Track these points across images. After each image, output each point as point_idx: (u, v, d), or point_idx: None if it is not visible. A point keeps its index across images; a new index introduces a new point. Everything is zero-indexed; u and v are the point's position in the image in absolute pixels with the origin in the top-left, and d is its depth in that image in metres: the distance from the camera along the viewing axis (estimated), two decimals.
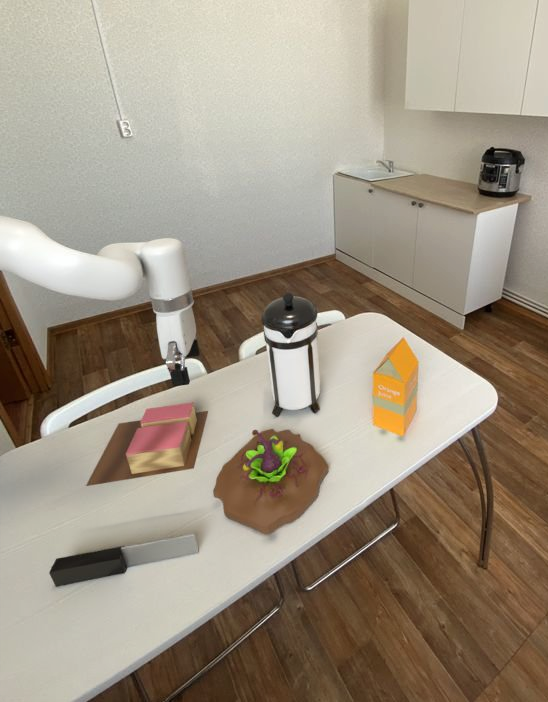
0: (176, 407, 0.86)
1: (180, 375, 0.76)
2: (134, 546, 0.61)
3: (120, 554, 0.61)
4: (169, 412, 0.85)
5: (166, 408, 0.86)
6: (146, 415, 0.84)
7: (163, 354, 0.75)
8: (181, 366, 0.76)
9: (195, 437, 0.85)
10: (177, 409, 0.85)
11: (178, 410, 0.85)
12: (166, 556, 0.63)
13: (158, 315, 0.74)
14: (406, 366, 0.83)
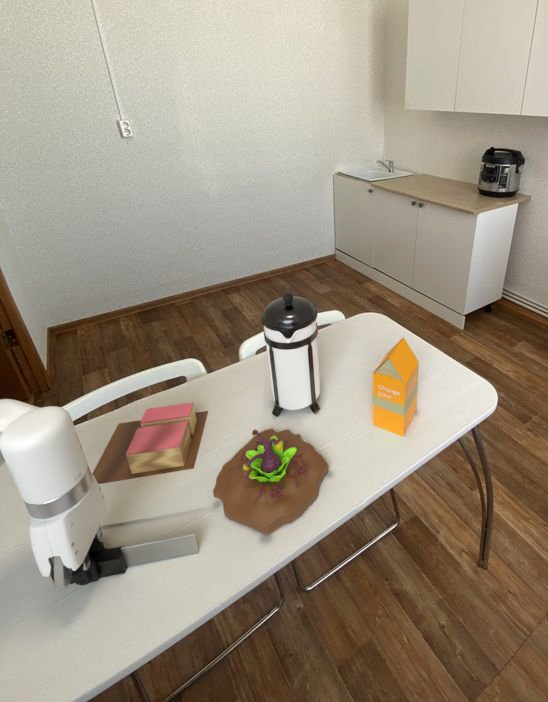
0: (176, 407, 0.86)
1: (84, 575, 0.58)
2: (134, 546, 0.61)
3: (120, 554, 0.61)
4: (169, 412, 0.85)
5: (166, 408, 0.86)
6: (146, 415, 0.84)
7: (42, 572, 0.53)
8: (84, 568, 0.57)
9: (195, 437, 0.85)
10: (177, 409, 0.85)
11: (178, 410, 0.85)
12: (166, 556, 0.63)
13: (32, 522, 0.52)
14: (406, 366, 0.83)
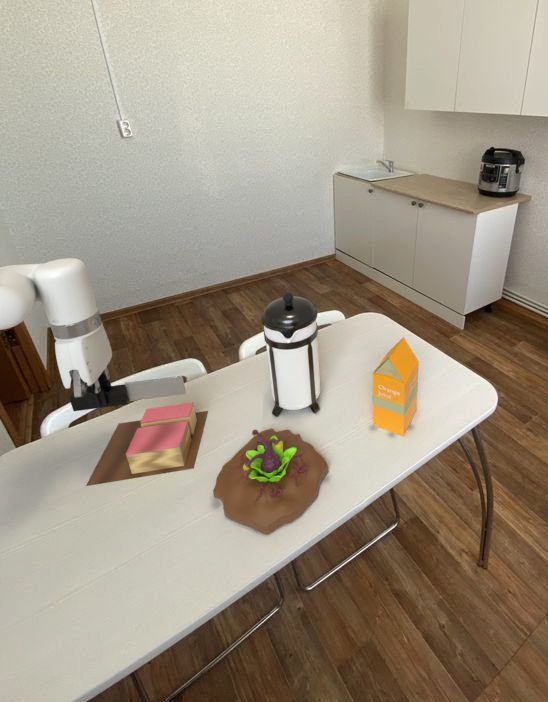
0: (176, 407, 0.86)
1: (95, 398, 0.75)
2: (135, 382, 0.78)
3: (124, 388, 0.77)
4: (169, 412, 0.85)
5: (166, 408, 0.86)
6: (146, 415, 0.84)
7: (65, 383, 0.70)
8: (95, 391, 0.74)
9: (195, 437, 0.85)
10: (177, 409, 0.85)
11: (178, 410, 0.85)
12: (160, 394, 0.79)
13: (57, 342, 0.68)
14: (406, 366, 0.83)
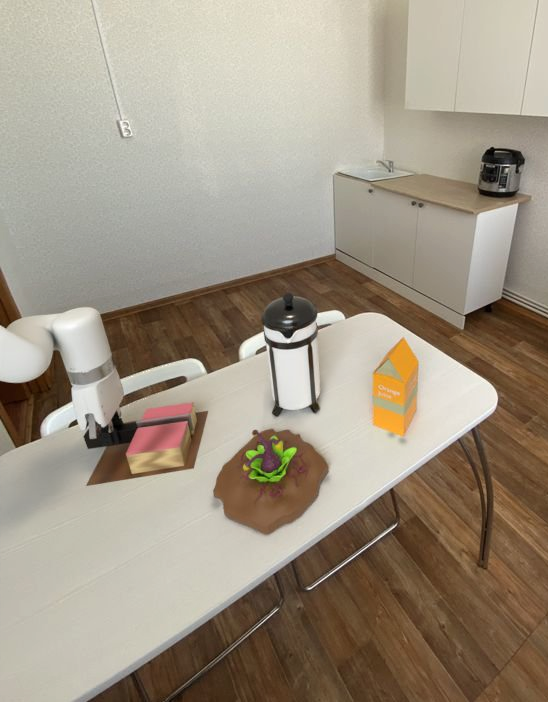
0: (176, 407, 0.86)
1: (109, 437, 0.78)
2: (146, 420, 0.81)
3: (135, 426, 0.81)
4: (169, 412, 0.85)
5: (166, 408, 0.86)
6: (146, 415, 0.84)
7: (80, 426, 0.73)
8: (109, 431, 0.78)
9: (195, 437, 0.85)
10: (177, 409, 0.85)
11: (178, 410, 0.85)
12: None
13: (73, 387, 0.72)
14: (406, 366, 0.83)
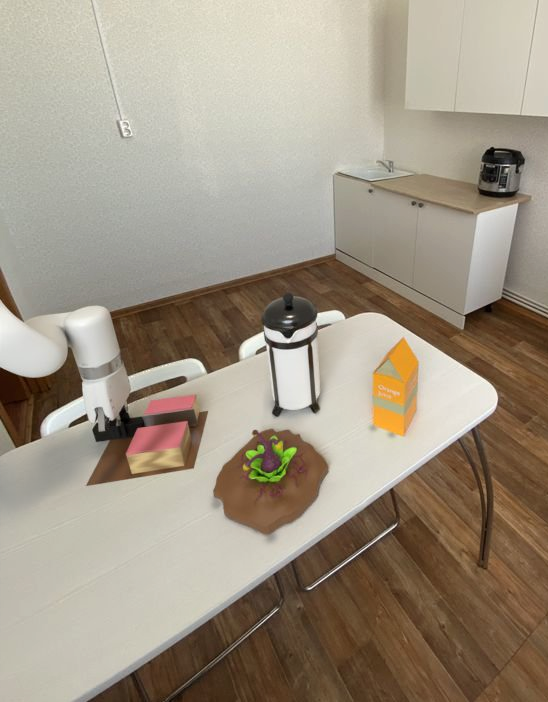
0: (180, 399, 0.89)
1: (116, 430, 0.82)
2: (151, 415, 0.85)
3: (141, 420, 0.85)
4: (173, 403, 0.87)
5: (170, 400, 0.88)
6: (150, 406, 0.86)
7: (90, 419, 0.77)
8: (117, 424, 0.81)
9: (195, 437, 0.85)
10: (180, 401, 0.88)
11: (181, 402, 0.88)
12: None
13: (84, 382, 0.76)
14: (406, 366, 0.83)
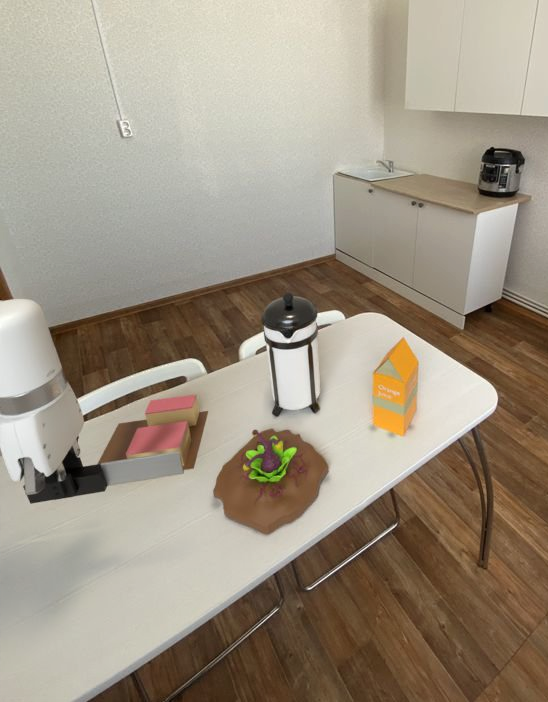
0: (180, 399, 0.89)
1: (59, 487, 0.54)
2: (115, 462, 0.57)
3: (100, 470, 0.57)
4: (173, 403, 0.87)
5: (170, 400, 0.88)
6: (150, 406, 0.86)
7: (12, 476, 0.49)
8: (58, 479, 0.54)
9: (195, 437, 0.85)
10: (180, 401, 0.88)
11: (181, 402, 0.88)
12: (149, 475, 0.59)
13: (0, 419, 0.48)
14: (406, 366, 0.83)
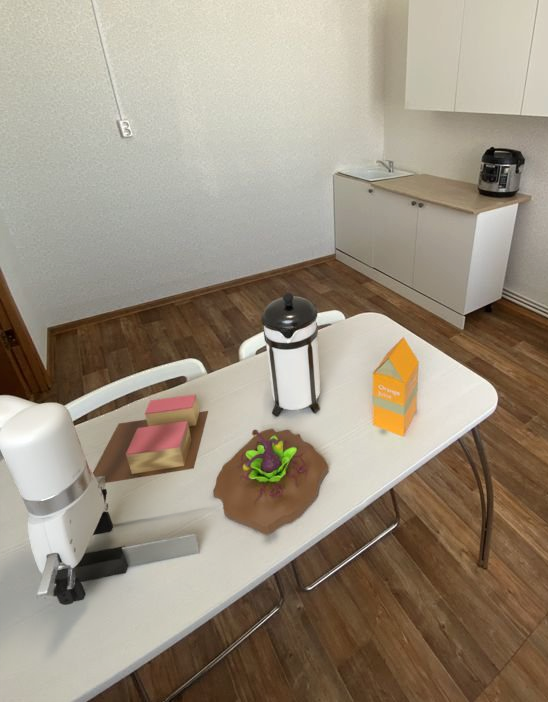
0: (180, 399, 0.89)
1: (68, 594, 0.54)
2: (135, 546, 0.61)
3: (121, 554, 0.61)
4: (173, 403, 0.87)
5: (170, 400, 0.88)
6: (150, 406, 0.86)
7: (41, 569, 0.53)
8: (68, 584, 0.53)
9: (195, 437, 0.85)
10: (180, 401, 0.88)
11: (181, 402, 0.88)
12: (167, 556, 0.63)
13: (30, 519, 0.51)
14: (406, 366, 0.83)
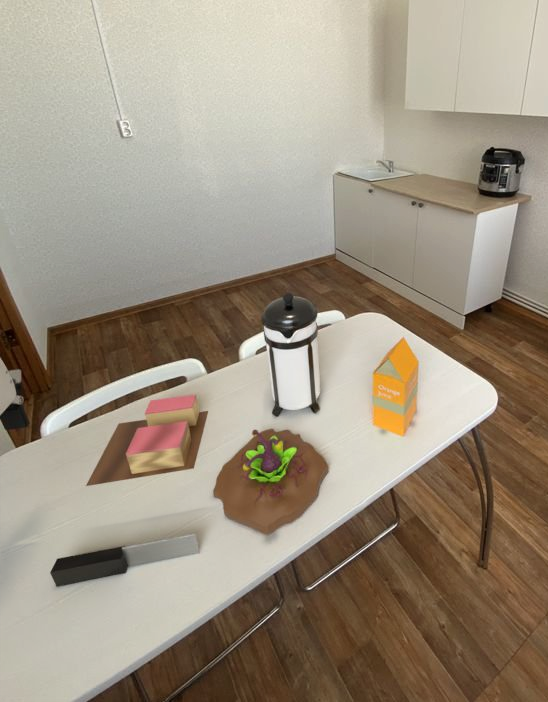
0: (180, 399, 0.89)
1: None
2: (135, 546, 0.61)
3: (121, 554, 0.61)
4: (173, 403, 0.87)
5: (170, 400, 0.88)
6: (150, 406, 0.86)
7: None
8: None
9: (195, 437, 0.85)
10: (180, 401, 0.88)
11: (181, 402, 0.88)
12: (167, 556, 0.63)
13: None
14: (405, 366, 0.83)
